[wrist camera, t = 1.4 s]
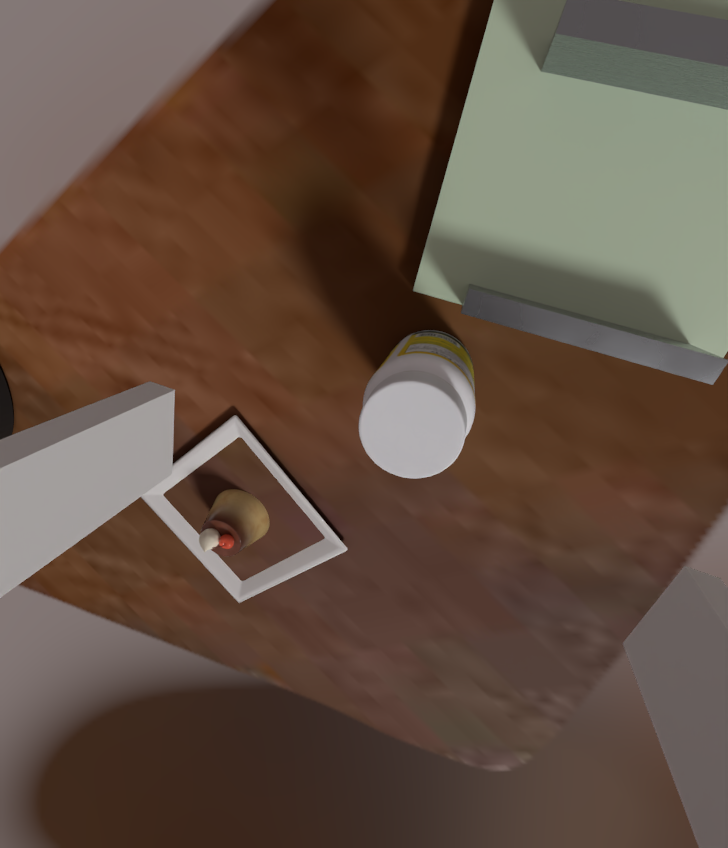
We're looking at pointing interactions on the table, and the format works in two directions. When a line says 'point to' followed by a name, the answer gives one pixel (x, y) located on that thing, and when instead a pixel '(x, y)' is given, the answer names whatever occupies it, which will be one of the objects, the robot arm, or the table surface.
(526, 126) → the board
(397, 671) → the table surface
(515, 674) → the table surface
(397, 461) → the supplement bottle
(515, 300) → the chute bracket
